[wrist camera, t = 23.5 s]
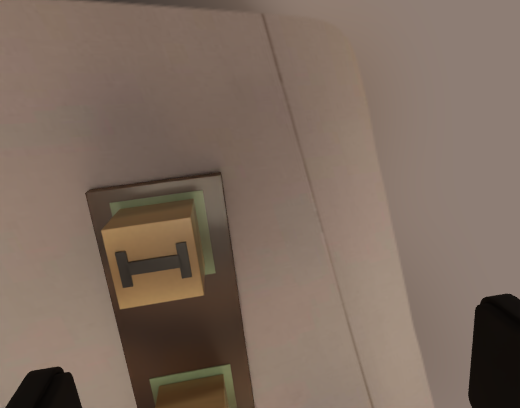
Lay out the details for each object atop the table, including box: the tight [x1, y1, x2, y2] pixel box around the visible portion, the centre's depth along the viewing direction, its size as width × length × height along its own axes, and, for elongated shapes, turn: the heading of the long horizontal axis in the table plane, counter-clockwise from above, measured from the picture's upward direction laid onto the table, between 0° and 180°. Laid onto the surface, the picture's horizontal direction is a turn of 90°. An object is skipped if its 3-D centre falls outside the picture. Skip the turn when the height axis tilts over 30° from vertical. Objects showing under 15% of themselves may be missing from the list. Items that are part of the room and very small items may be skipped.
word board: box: [85, 172, 254, 408], centre depth 29 cm, size 22×9×1 cm, turn 7°
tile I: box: [101, 199, 205, 309], centre depth 24 cm, size 5×5×5 cm
